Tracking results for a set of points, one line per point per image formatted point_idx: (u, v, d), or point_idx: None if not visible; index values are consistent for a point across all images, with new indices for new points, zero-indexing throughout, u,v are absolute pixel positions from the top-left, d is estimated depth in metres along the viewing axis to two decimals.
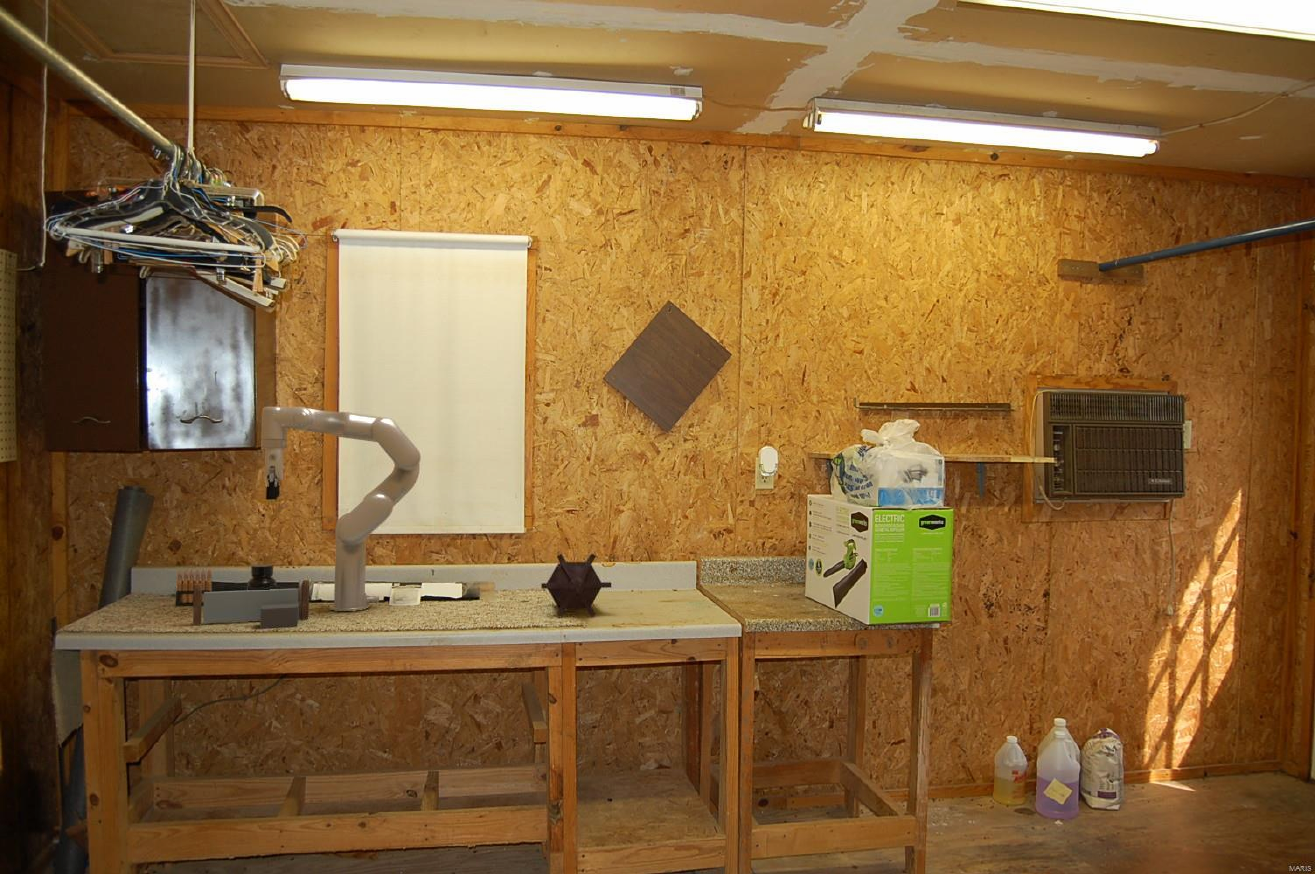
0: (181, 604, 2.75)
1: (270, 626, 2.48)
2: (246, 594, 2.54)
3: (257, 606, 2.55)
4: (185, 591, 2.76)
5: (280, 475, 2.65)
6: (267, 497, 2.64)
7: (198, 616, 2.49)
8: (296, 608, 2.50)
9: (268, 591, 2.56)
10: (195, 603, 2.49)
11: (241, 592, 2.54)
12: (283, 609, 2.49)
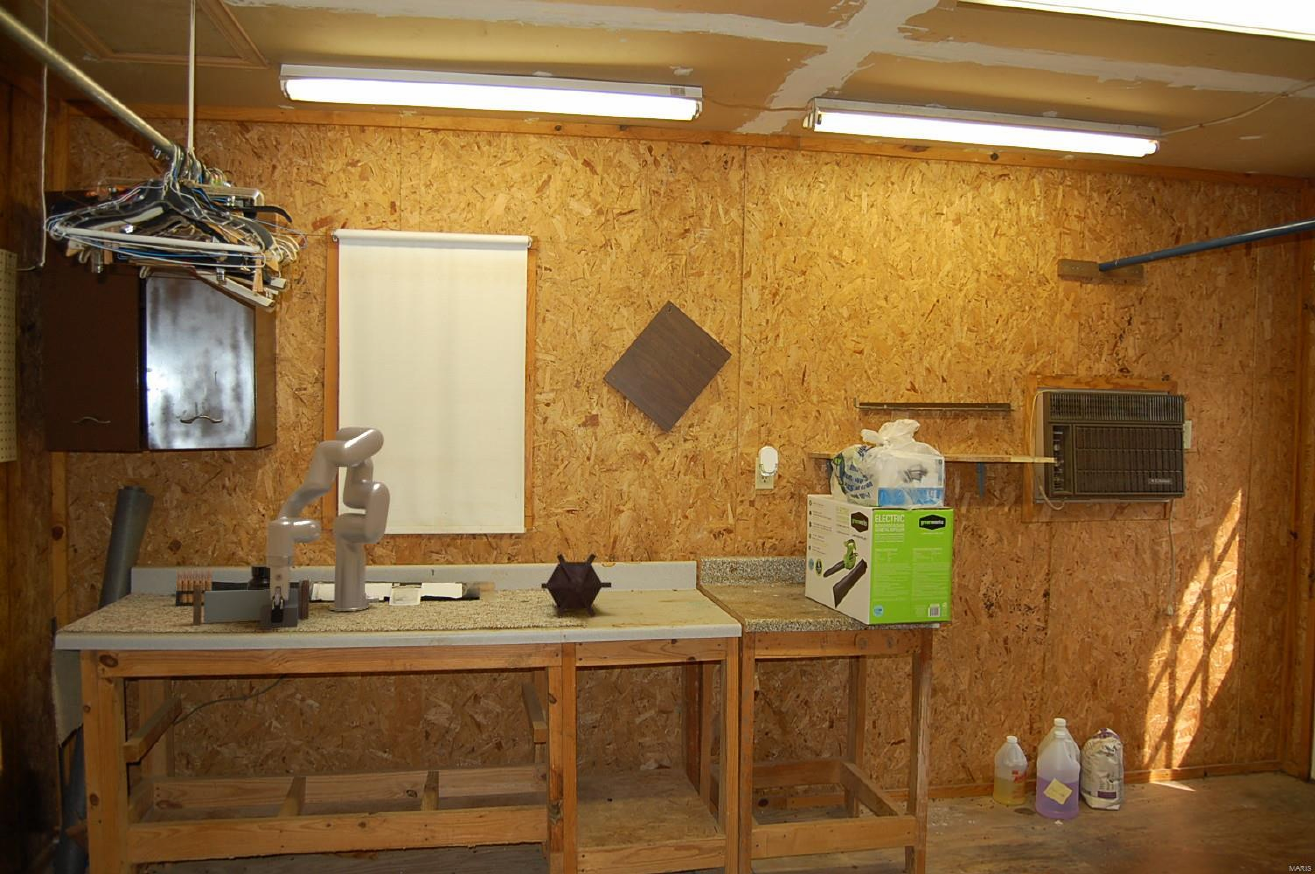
0: (181, 604, 2.75)
1: (270, 626, 2.48)
2: (246, 594, 2.55)
3: (257, 606, 2.56)
4: (185, 591, 2.76)
5: (286, 595, 2.47)
6: (272, 620, 2.46)
7: (198, 616, 2.49)
8: (296, 608, 2.50)
9: (268, 591, 2.57)
10: (195, 603, 2.49)
11: (241, 592, 2.55)
12: (283, 609, 2.49)
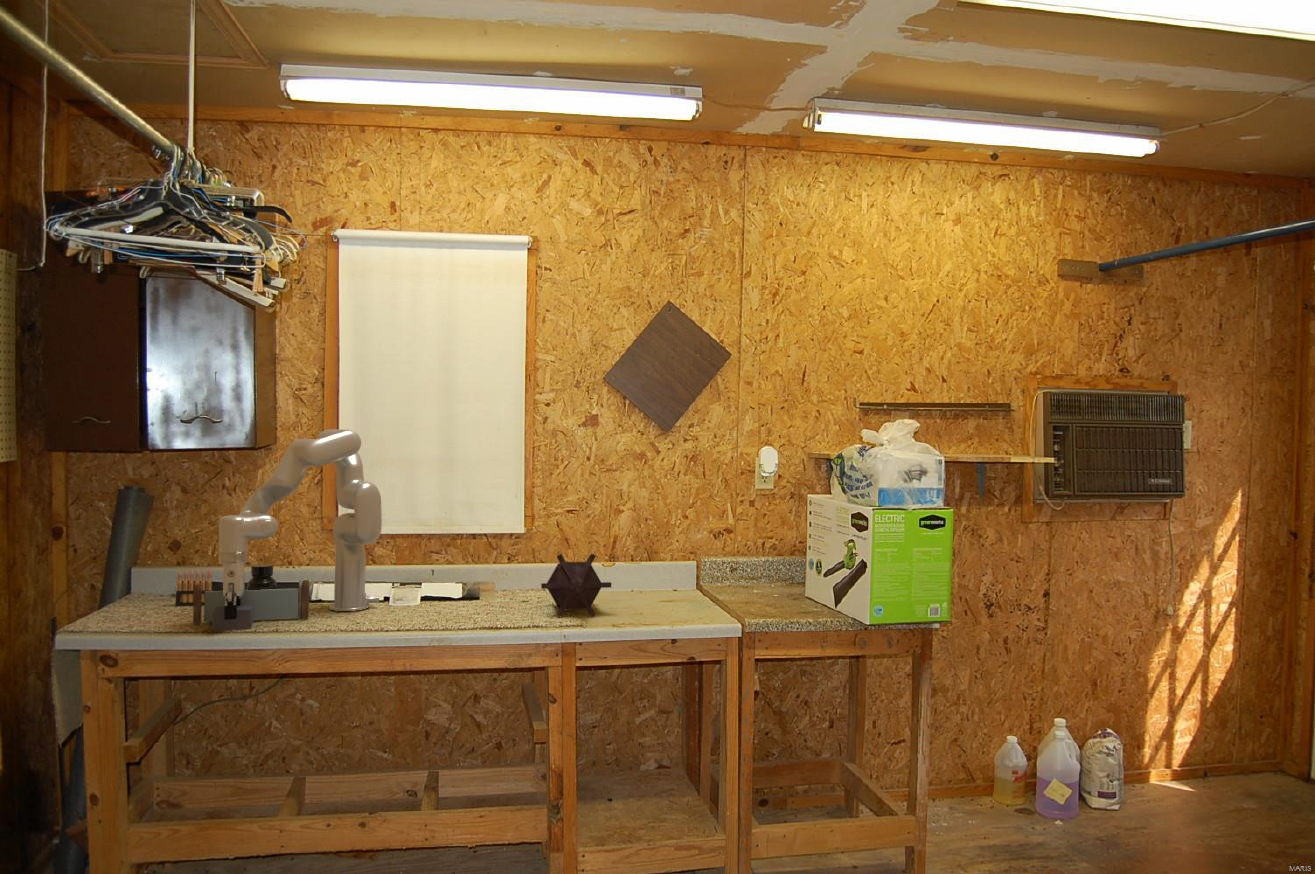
0: (181, 604, 2.75)
1: (222, 628, 2.44)
2: (246, 593, 2.55)
3: (257, 606, 2.56)
4: (185, 591, 2.76)
5: (240, 592, 2.43)
6: (225, 617, 2.42)
7: (198, 616, 2.49)
8: (249, 610, 2.46)
9: (268, 591, 2.57)
10: (195, 603, 2.49)
11: None
12: None
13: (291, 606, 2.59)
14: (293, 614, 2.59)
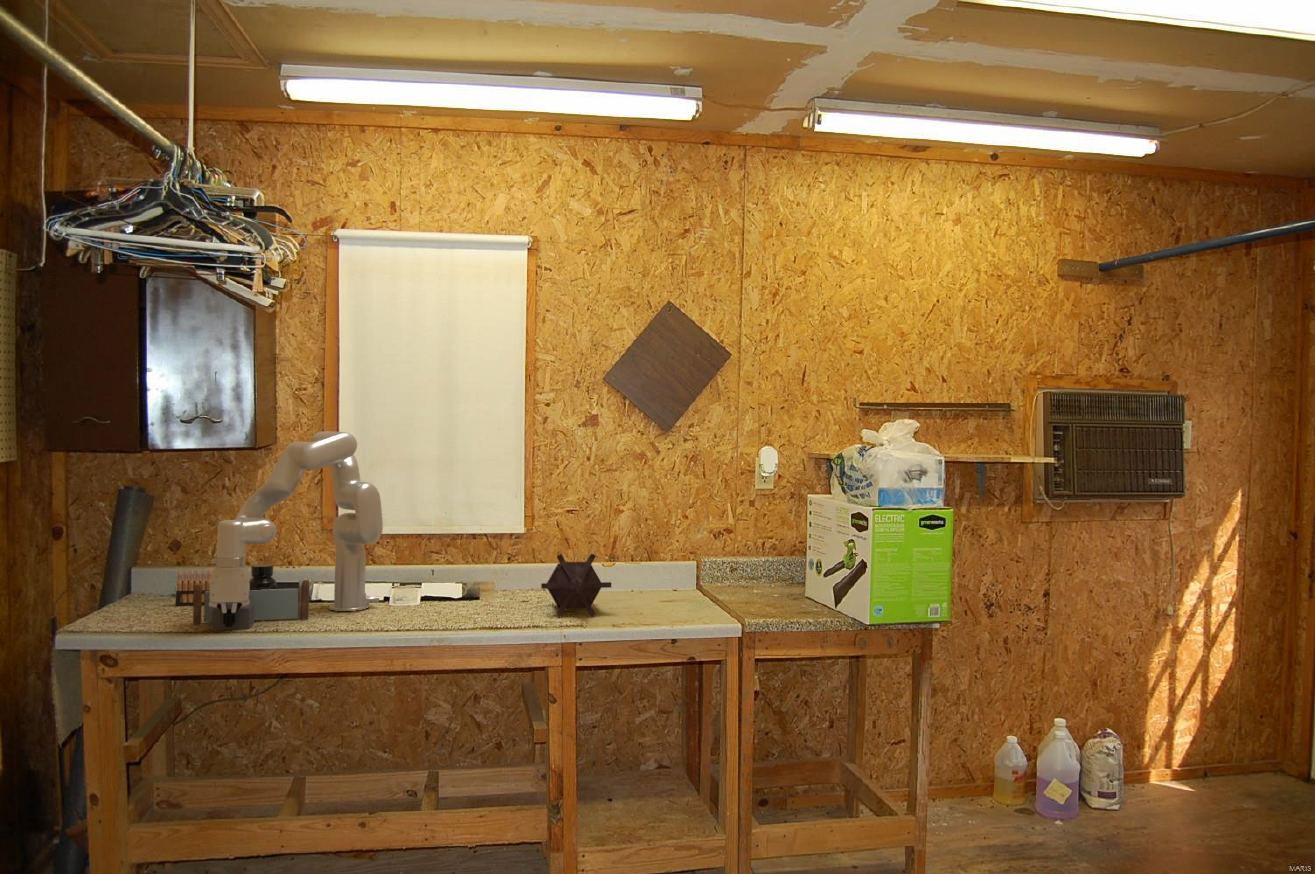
0: (181, 604, 2.75)
1: (221, 627, 2.44)
2: None
3: (257, 606, 2.56)
4: (185, 591, 2.76)
5: (210, 597, 2.39)
6: None
7: (198, 616, 2.49)
8: (248, 609, 2.46)
9: (268, 591, 2.57)
10: (195, 603, 2.49)
11: None
12: None
13: (291, 606, 2.59)
14: (293, 614, 2.59)
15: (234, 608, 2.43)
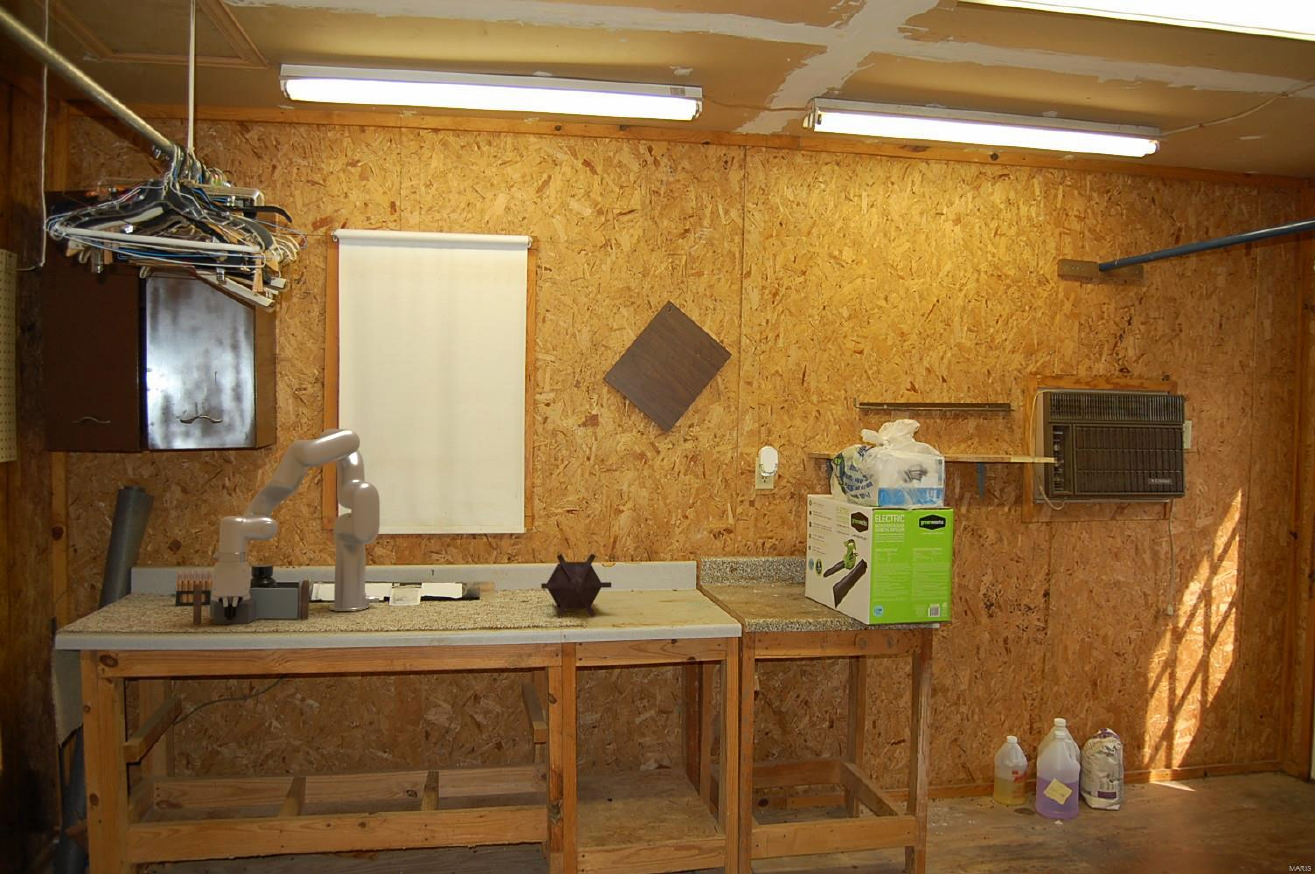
0: (181, 604, 2.75)
1: (223, 621, 2.52)
2: None
3: (259, 604, 2.59)
4: (185, 591, 2.76)
5: (212, 591, 2.46)
6: None
7: (198, 616, 2.49)
8: (248, 604, 2.53)
9: (269, 589, 2.59)
10: (195, 603, 2.49)
11: None
12: None
13: (291, 606, 2.59)
14: (293, 614, 2.60)
15: (235, 602, 2.50)
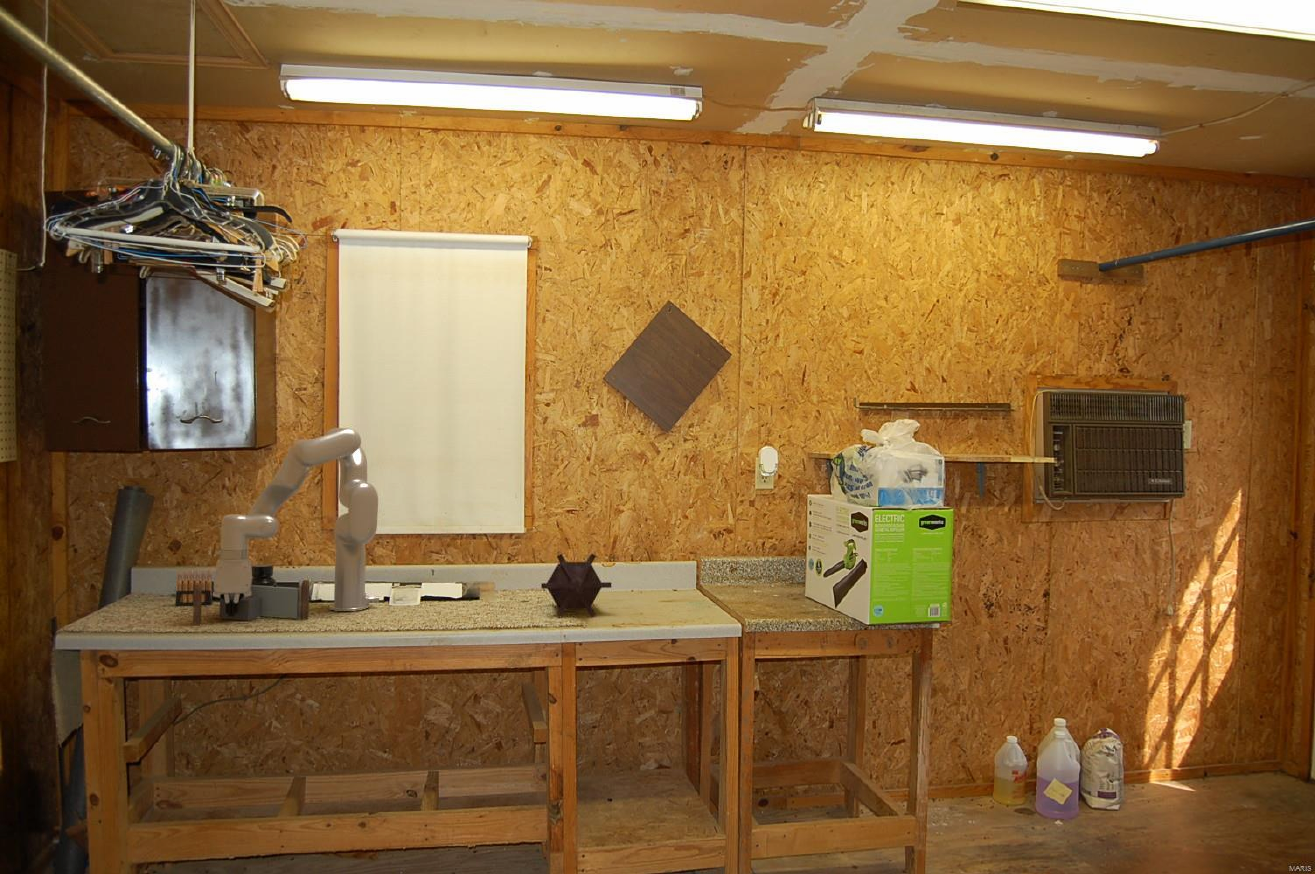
0: (181, 604, 2.75)
1: (227, 616, 2.57)
2: (255, 589, 2.63)
3: (264, 602, 2.62)
4: (185, 591, 2.76)
5: (214, 588, 2.51)
6: None
7: (198, 616, 2.49)
8: (248, 601, 2.56)
9: (273, 588, 2.61)
10: (195, 603, 2.49)
11: (252, 587, 2.63)
12: None
13: (291, 605, 2.60)
14: (293, 613, 2.60)
15: (236, 598, 2.54)
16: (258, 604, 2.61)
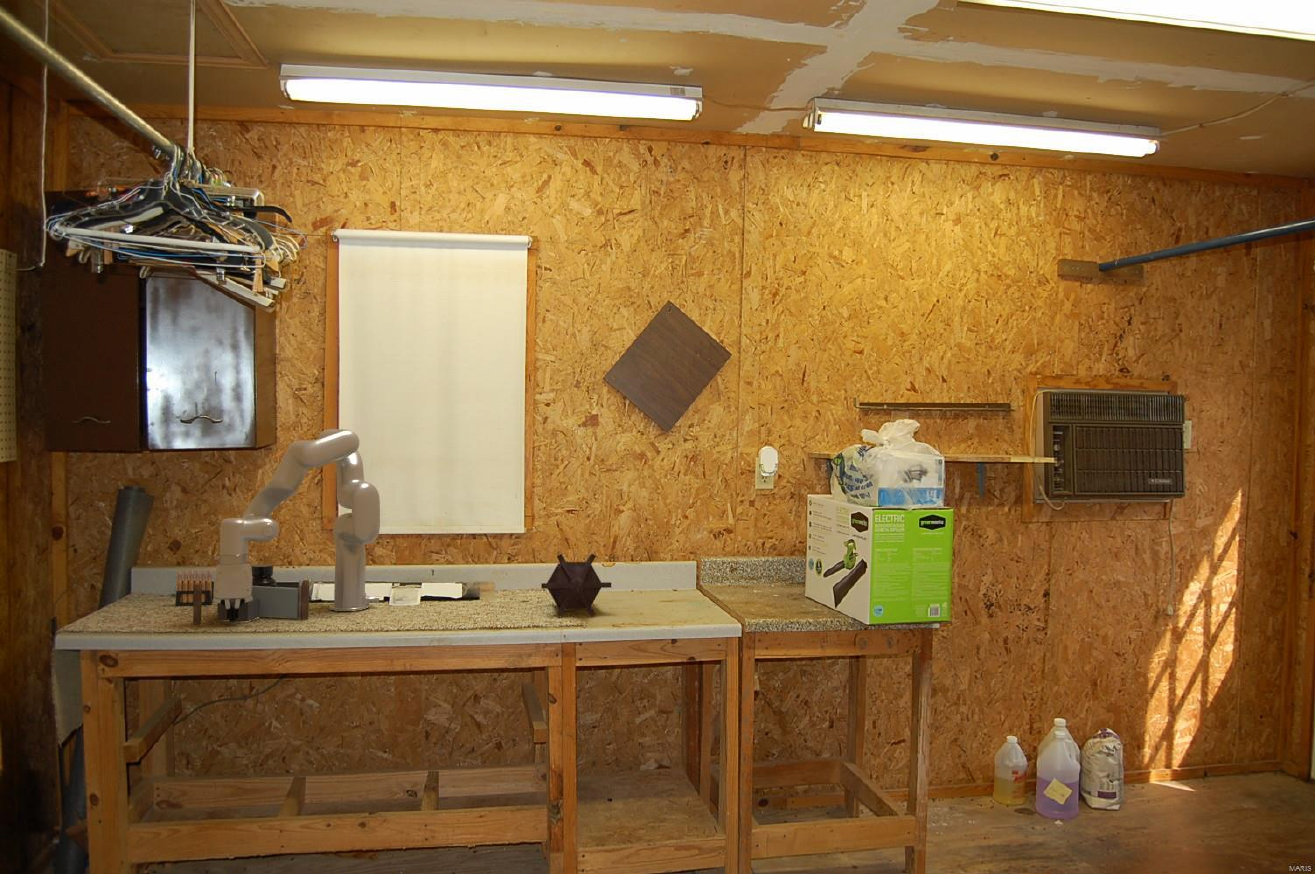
0: (181, 604, 2.75)
1: (225, 618, 2.56)
2: (254, 590, 2.62)
3: (262, 602, 2.61)
4: (185, 591, 2.76)
5: (214, 593, 2.46)
6: None
7: (198, 616, 2.49)
8: (247, 603, 2.55)
9: (272, 588, 2.61)
10: (195, 603, 2.49)
11: None
12: None
13: (291, 605, 2.60)
14: (293, 613, 2.60)
15: (237, 604, 2.49)
16: (256, 605, 2.60)
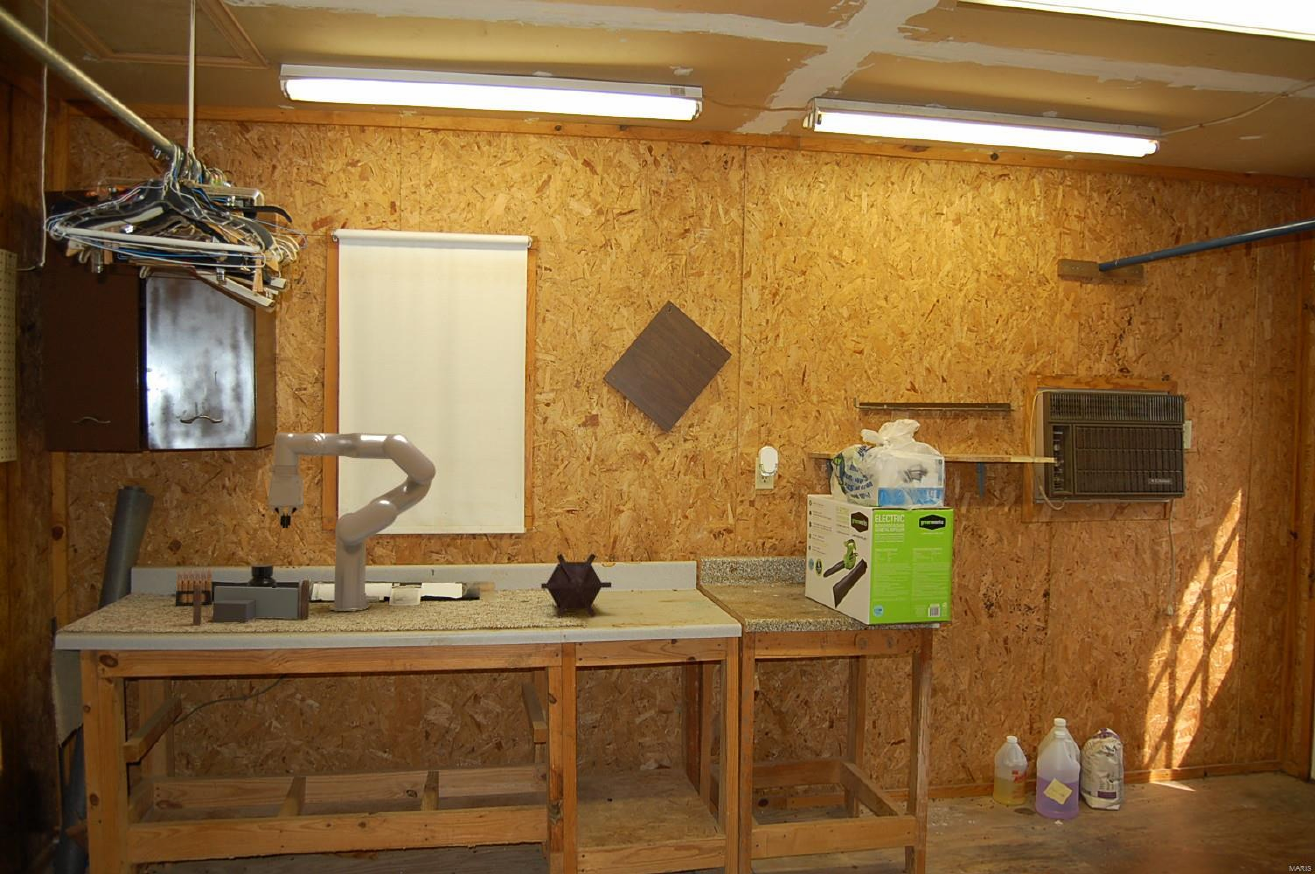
0: (181, 604, 2.75)
1: (221, 620, 2.54)
2: (251, 591, 2.60)
3: (260, 603, 2.60)
4: (185, 591, 2.76)
5: (269, 501, 2.67)
6: None
7: (198, 616, 2.49)
8: (245, 604, 2.54)
9: (270, 589, 2.60)
10: (195, 603, 2.49)
11: (246, 588, 2.60)
12: (233, 604, 2.54)
13: (291, 605, 2.60)
14: (293, 614, 2.60)
15: (290, 511, 2.70)
16: (253, 606, 2.58)
